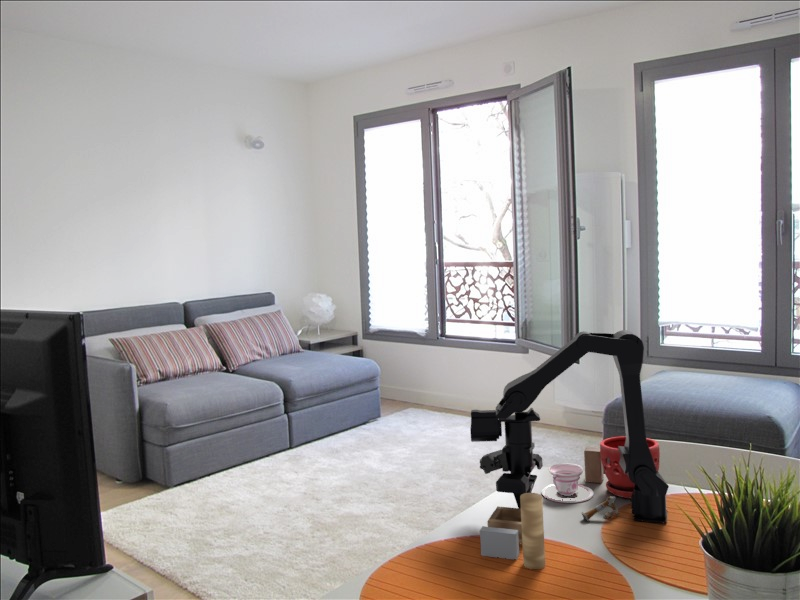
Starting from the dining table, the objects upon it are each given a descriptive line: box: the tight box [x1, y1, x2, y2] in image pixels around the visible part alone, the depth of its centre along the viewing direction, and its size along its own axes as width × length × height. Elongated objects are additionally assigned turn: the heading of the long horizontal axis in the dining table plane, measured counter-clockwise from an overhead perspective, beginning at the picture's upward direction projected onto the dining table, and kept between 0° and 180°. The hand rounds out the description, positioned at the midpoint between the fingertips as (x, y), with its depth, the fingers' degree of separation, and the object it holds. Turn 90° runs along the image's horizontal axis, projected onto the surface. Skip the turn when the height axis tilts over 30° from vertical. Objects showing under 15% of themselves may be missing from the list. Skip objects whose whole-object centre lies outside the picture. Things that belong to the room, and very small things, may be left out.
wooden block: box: [583, 446, 605, 484], centre depth 169 cm, size 4×4×8 cm
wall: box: [479, 526, 520, 561], centre depth 132 cm, size 7×2×5 cm, turn 67°
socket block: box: [487, 506, 522, 545], centre depth 141 cm, size 8×8×4 cm
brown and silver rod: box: [580, 495, 620, 523], centre depth 147 cm, size 2×8×4 cm, turn 101°
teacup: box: [540, 462, 595, 504], centre depth 161 cm, size 12×12×6 cm
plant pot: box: [599, 435, 661, 499], centre depth 160 cm, size 13×13×12 cm
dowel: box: [520, 492, 546, 570], centre depth 127 cm, size 4×4×13 cm
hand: (522, 510), depth 149 cm, fingers closed
